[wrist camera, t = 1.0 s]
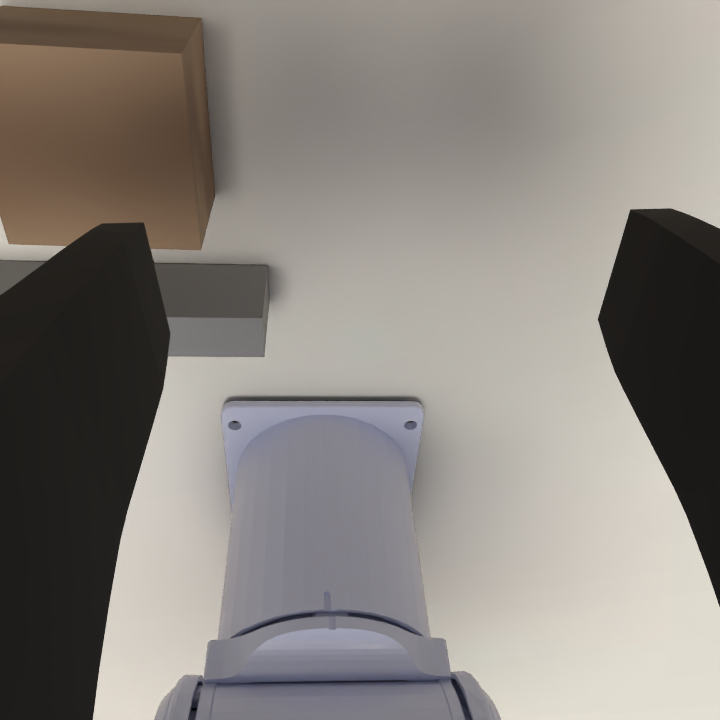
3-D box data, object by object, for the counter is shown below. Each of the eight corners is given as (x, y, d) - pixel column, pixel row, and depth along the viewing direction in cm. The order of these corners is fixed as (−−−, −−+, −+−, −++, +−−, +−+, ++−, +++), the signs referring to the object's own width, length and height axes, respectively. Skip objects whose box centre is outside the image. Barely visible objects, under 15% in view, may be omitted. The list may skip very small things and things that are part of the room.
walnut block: (215, 193, 20) (200, 250, 18) (49, 186, 20) (8, 243, 17) (202, 16, 17) (181, 53, 15) (4, 4, 17) (-55, 40, 14)
